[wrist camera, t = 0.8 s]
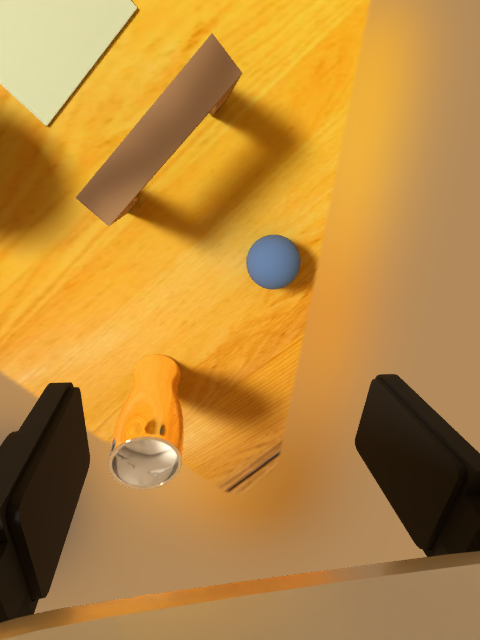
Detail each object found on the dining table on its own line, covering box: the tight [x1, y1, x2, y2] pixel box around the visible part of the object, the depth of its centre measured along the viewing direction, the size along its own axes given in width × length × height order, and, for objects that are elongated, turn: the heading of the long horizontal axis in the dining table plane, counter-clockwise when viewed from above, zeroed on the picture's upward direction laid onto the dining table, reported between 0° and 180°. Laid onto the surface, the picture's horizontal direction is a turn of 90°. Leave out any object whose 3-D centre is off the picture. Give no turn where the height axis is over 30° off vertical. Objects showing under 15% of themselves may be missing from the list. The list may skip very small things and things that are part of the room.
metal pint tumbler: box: [108, 355, 184, 490], centre depth 37 cm, size 7×7×15 cm
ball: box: [247, 235, 300, 289], centre depth 37 cm, size 6×6×6 cm
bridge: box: [76, 33, 242, 226], centre depth 29 cm, size 3×15×10 cm, turn 134°
